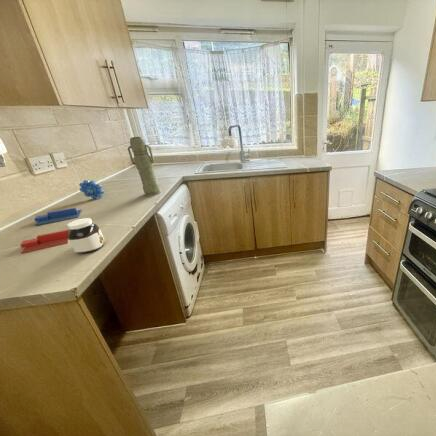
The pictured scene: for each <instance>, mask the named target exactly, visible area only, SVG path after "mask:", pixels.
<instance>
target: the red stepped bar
mask: <svg viewBox="0 0 436 436" xmlns="http://www.w3.org/2000/svg"><path fill="white" fill-rule="evenodd" d="M69 230H70V229H69V228H68V229H64V230H59V231H54V232H49V233H43V234H38V235H36V237H35V238H30V239H26V240H22V242H21V243H20V244H19V245H20V247H21V249H24V248H25V247H30V246H35V245H39V243H45V242H49V241H54V240H59V239H64V238H68V233H69Z"/></svg>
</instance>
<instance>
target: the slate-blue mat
mask: <svg viewBox="0 0 436 436" xmlns="http://www.w3.org/2000/svg"><path fill="white" fill-rule="evenodd" d="M82 211H83V209H77V212H78V214H74V215H68V216H62V217H56V218H51V219H50V218H49V219H48V220H43V221H37V222H35V224H34V225H35V226H42V225H47V224H52V223H58V222H64V221H68V220H73V219H78V218H79V217H80V215H81V213H82Z"/></svg>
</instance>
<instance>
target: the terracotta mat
mask: <svg viewBox="0 0 436 436" xmlns="http://www.w3.org/2000/svg"><path fill="white" fill-rule="evenodd" d="M67 244H68V238H64V239H59V240H54V241H49V242H45V243H39V245H35V246H30V247H25V248H22V251H21V252H20V253H21V254H22V255H23V254H28V253H32V252H36V251H40V250H44V249H49V248H53V247H57V246H61V245H62V246H63V245H67Z"/></svg>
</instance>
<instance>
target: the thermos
mask: <svg viewBox="0 0 436 436" xmlns="http://www.w3.org/2000/svg"><path fill="white" fill-rule="evenodd" d="M129 145H130V146H127V151H128V155H129V158H130V161H131V163H132V165H134V166H135V167H136V170H137V171H138V174H139V177H140V180H141V184H142V190H143V193H144V195H145V196H146V197H151V196H152V197H153V196H156V195H159V194H161V187H160V185H159V183H158V181H157V178H156V174H155V171H154V164H153V163H154V162H155V157H154V155H153V151H152V147H151V146H150V145H149V144H146V141H145V140H144V138H143V137H142V136H132V137H131V138H129ZM131 150H132V151H131ZM132 153H133V155H132Z"/></svg>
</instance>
